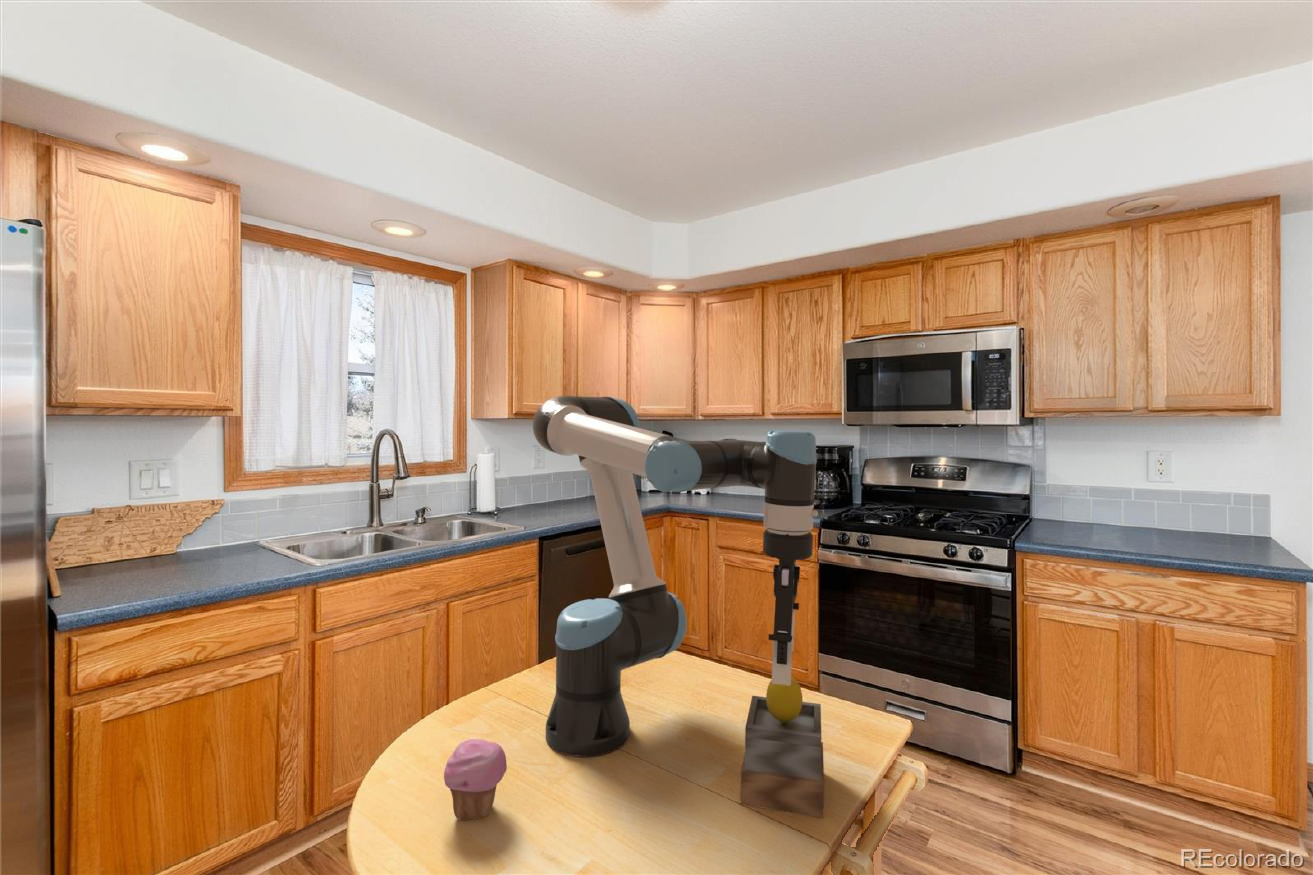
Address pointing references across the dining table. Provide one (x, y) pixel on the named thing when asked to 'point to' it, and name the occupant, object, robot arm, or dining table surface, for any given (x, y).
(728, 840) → the dining table surface
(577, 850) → the dining table surface
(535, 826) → the dining table surface
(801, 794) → the grey storage bin
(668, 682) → the dining table surface
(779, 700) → the lemon
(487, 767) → the cupcake
